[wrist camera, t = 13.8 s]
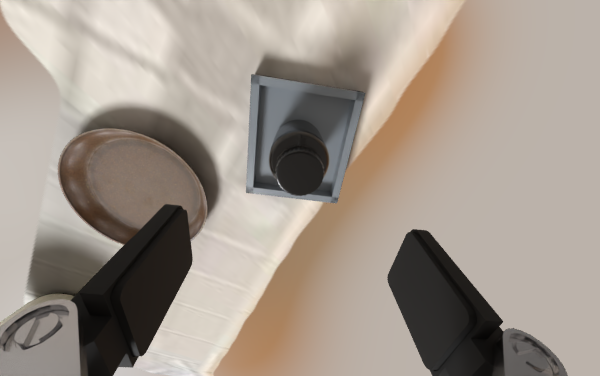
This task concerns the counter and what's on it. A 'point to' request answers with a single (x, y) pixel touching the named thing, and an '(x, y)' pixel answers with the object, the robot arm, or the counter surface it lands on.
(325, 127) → the tray
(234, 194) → the counter surface
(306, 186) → the supplement bottle
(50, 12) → the counter surface
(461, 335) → the robot arm
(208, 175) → the counter surface
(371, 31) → the counter surface
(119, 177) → the plant saucer
